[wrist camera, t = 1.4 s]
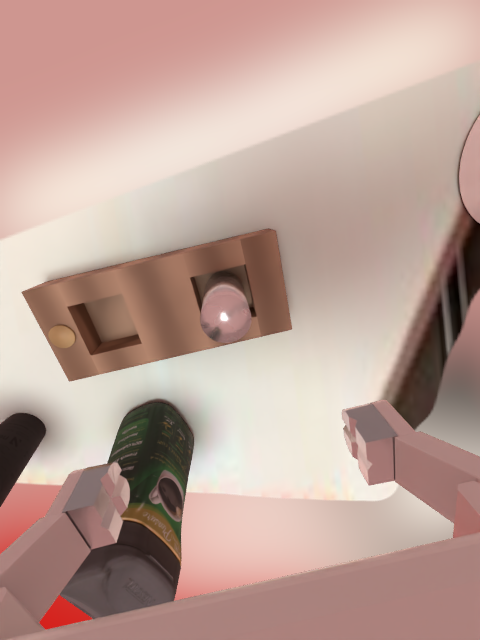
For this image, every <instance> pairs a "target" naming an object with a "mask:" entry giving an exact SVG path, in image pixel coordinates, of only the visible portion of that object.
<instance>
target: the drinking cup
mask: <svg viewBox="0 0 480 640" xmlns="http://www.w3.org/2000/svg"><path fill="white" fill-rule="evenodd" d="M45 432H46V430H45V426H44V424H43V423H42V422H41V421H40V420H39V419H38V418H36V417H35V416H32V415H29V414H24V413H19V414H14V415H12V416H10V417H9V418H7V419H6V420H5V421H4V422H2V423H1V424H0V507H1V505H2V504H3V502H4V500H5V499H6V497H7V495H8V494H9V492H10V491H11V489H12V487H13V486H14V484H15V483H16V481H17V479H18V478H19V476H20V475H21V473H22V471H23V470H24V468H25V466H26V465H27V463H28V462H29V460H30V458H31V457H32V455H33V454H34V452H35V450H36V449H37V447H38V446H39V444H40V442H41V441H42V439H43V437H44V436H45Z"/></svg>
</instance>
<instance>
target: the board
mask: <svg viewBox="0 0 480 640" xmlns="http://www.w3.org/2000/svg"><path fill="white" fill-rule="evenodd" d="M221 271H227V272H231V273H233V274H234V275H236V276H237V277H238V278H239V280H240V281H241V284H242V287H243V290H244V293H245V296H246V299H247V303H248V306H249V309H250V312H251V325H250V328H249V330H248V332H247V333H246V334H245V335H244V336H243V337H242V338H241V339H239V340H237V341H234V342H230V343H221V342H217V341H214V340H212V339H211V338H209V337H208V336H207V335H206V334H205V333H204V331H203V329H202V327H201V323H200V315H201V309H202V304H203V298H204V292H205V286H206V283H207V281H208V279H209V278H210V277H211V276H212V275H213V274H215V273H217V272H221ZM22 294H23V296H24V298H25V299H26V301H27V303H28V305H29V307H30V309H31V311H32V313H33V314H34V316H35V318H36V320H37V322H38V324H39V326H40V328H41V329H42V331H43V333H44V335H45V337H46V339H47V341H48V343H49V344H50V346H51V348H52V350H53V352H54V354H55V356H56V357H57V359H58V361H59V363H60V365H61V367H62V369H63V371H64V372H65V374H66V376H67V378H68V380H69V381H74V380H78V379H82V378H87V377H91V376H95V375H99V374H104V373H108V372H112V371H116V370H121V369H125V368H129V367H134V366H138V365H142V364H146V363H151V362H155V361H159V360H163V359H168V358H172V357H176V356H180V355H185V354H189V353H193V352H198V351H202V350H206V349H210V348H215V347H219V346H223V345H227V344H232V343H236V342H240V341H245V340H249V339H253V338H257V337H262V336H266V335H270V334H274V333H279V332H283V331H287V330H291V329H292V325H291V320H290V314H289V308H288V302H287V296H286V290H285V284H284V278H283V272H282V266H281V260H280V254H279V248H278V243H277V237H276V231H274V230H271V229H265V230H260V231H256V232H252V233H248V234H244V235H240V236H235V237H231V238H227V239H223V240H219V241H215V242H210V243H206V244H202V245H198V246H194V247H190V248H185V249H181V250H177V251H173V252H169V253H165V254H160V255H156V256H152V257H148V258H144V259H140V260H135V261H131V262H127V263H123V264H119V265H115V266H110V267H106V268H102V269H98V270H94V271H90V272H85V273H81V274H77V275H73V276H69V277H65V278H60V279H56V280H52V281H48V282H45V283H42V284H40V285H37V286H35V287H33V288H30V289H28V290H25V291H23V292H22Z"/></svg>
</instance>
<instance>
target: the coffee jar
mask: <svg viewBox="0 0 480 640" xmlns="http://www.w3.org/2000/svg"><path fill="white" fill-rule="evenodd" d="M193 446H194V439H193V436H192V434H191V432H190V430H189V428H188V426H187V425H186V423H185V422H184V421H183V419H182V418H181V417H180V415H179V414H178V413H177V412H176V411H175V410H174V409H173V408H172V407H171V406H169V405H167V404H164V403H151V404H147V405H144V406H142V407H139V408H137V409H135V410H133V411H132V412H130V413H129V414H127V415H126V416H125V417H124V419H123V421H122V423H121V425H120V428H119V430H118V433H117V436H116V439H115V442H114V445H113V448H112V451H111V454H110V457H109V460H108V463H107V464H109V463H113V462H114V463H118V465H119V466H120V468H121V472H120V476H122V477H124V478H126V480H127V482H128V484H129V488H130V500H129V503H128V507H127V509H126V510H125V511H124V512H123V514H122V515H121V518H122V520H123V523H122V526H121V530H120V533H119V536H118V539H117V543H114V544H110V545H106V546H102V547H99V548H95V549H91V552H90V553H89V554H88V556H87V557H86V559H85V560H84V561H83V563H82V564H81V565H80V567H79V568H78V570H77V571H76V572H75V574H74V575H73V576H72V578H71V579H70V580H69V582H68V583H67V585H66V586H65V587H64V589H63V590H62V591H61V593H60V594H59V595H61V596H62V597H63V598H65V599H66V600H67V601H69V602H70V603H72V604H73V605H74V606H76V607H77V608H79V609H80V610H82V611H83V612H84V613H86V614H87V615H89V616H90V617H92V618H93V619H96V618H101V617H105V616H110V615H114V614H119V613H123V612H127V611H132V610H136V609H141V608H145V607H150V606H154V605H159V604H163V603H167V602H172V601H174V598H175V594H176V589H177V585H178V579H179V574H180V569H181V523H182V514H183V507H184V501H185V495H186V487H187V481H188V475H189V470H190V465H191V460H192V454H193Z"/></svg>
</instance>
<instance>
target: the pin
mask: <svg viewBox="0 0 480 640" xmlns="http://www.w3.org/2000/svg"><path fill="white" fill-rule="evenodd" d="M200 323H201V327H202V329H203V331H204V333H205V334H206V335H207V336H208V337H209V338H211V339H212V340H214V341H217V342H221V343H230V342H234V341H237V340H239V339H241V338H242V337H243V336H244V335H245V334H246V333H247V332H248V330H249V328H250V325H251V312H250V309H249V306H248V303H247V299H246V296H245V293H244V290H243V287H242V284H241V281H240V280H239V278H238V277H237V276H236V275H234V274H233V273H231V272H227V271H221V272H217V273H215V274H213V275H212V276H211V277H210V278H209V279H208V281H207V283H206V286H205V292H204V298H203V304H202V309H201V315H200Z"/></svg>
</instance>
